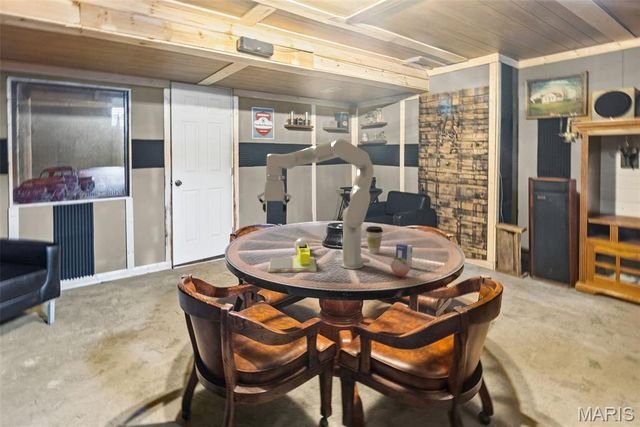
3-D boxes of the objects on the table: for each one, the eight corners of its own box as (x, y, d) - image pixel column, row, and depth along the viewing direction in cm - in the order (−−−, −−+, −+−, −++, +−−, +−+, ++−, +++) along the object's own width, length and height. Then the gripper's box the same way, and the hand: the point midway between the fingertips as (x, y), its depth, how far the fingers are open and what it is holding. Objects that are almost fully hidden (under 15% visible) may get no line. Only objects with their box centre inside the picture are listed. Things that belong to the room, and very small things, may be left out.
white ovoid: (299, 258, 225) (302, 254, 240) (312, 248, 224) (315, 245, 239) (289, 244, 225) (293, 241, 240) (303, 235, 224) (306, 232, 239)
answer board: (314, 259, 218) (314, 256, 218) (316, 271, 196) (316, 268, 196) (270, 259, 216) (270, 257, 216) (268, 272, 195) (268, 269, 194)
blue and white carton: (395, 266, 206) (396, 243, 204) (397, 264, 208) (398, 242, 206) (410, 268, 202) (411, 245, 200) (411, 267, 204) (412, 244, 202)
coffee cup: (363, 250, 236) (364, 226, 234) (379, 250, 238) (380, 225, 235) (367, 255, 227) (368, 229, 224) (384, 254, 228) (384, 229, 225)
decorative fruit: (413, 277, 188) (414, 257, 186) (401, 281, 183) (402, 260, 181) (399, 272, 195) (400, 253, 194) (387, 275, 191) (388, 255, 189)
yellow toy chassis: (310, 265, 201) (310, 249, 200) (299, 265, 200) (299, 250, 199) (307, 256, 217) (307, 242, 215) (296, 257, 216) (296, 242, 214)
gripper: (291, 178, 202) (291, 210, 205) (257, 177, 201) (258, 210, 204) (291, 179, 195) (291, 213, 198) (256, 178, 194) (256, 213, 197)
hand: (274, 211), depth 201 cm, fingers open, 9 cm apart
